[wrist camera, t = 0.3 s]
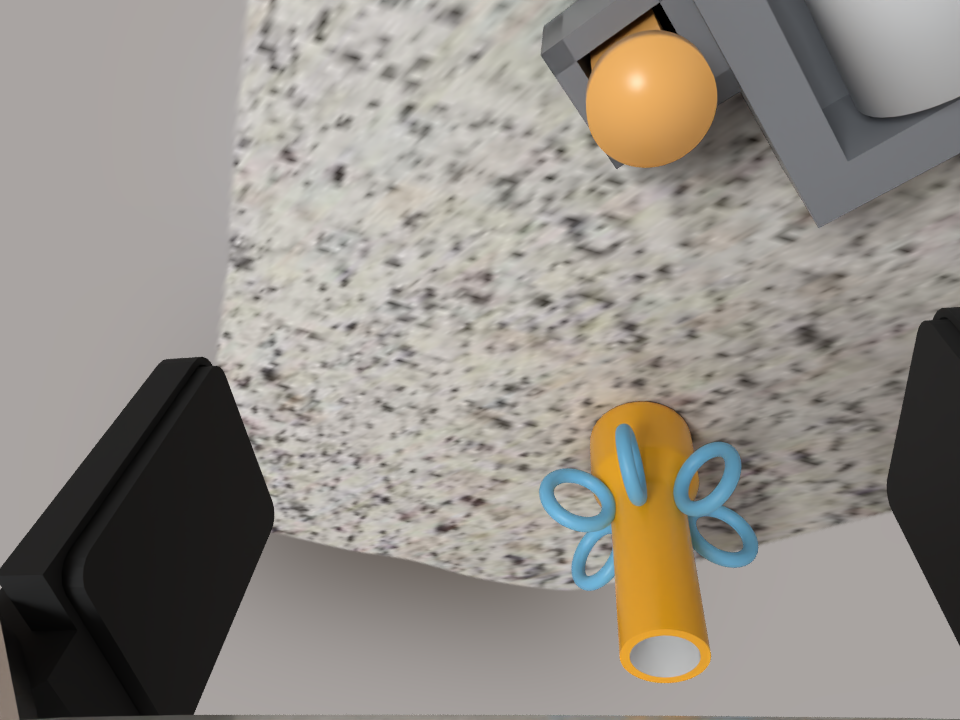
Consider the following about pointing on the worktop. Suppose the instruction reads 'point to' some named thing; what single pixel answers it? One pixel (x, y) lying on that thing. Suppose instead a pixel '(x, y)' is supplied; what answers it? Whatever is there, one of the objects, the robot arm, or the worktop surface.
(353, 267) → the worktop surface
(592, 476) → the ringed yellow tube
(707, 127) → the plunger
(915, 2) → the cartridge
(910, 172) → the housing
